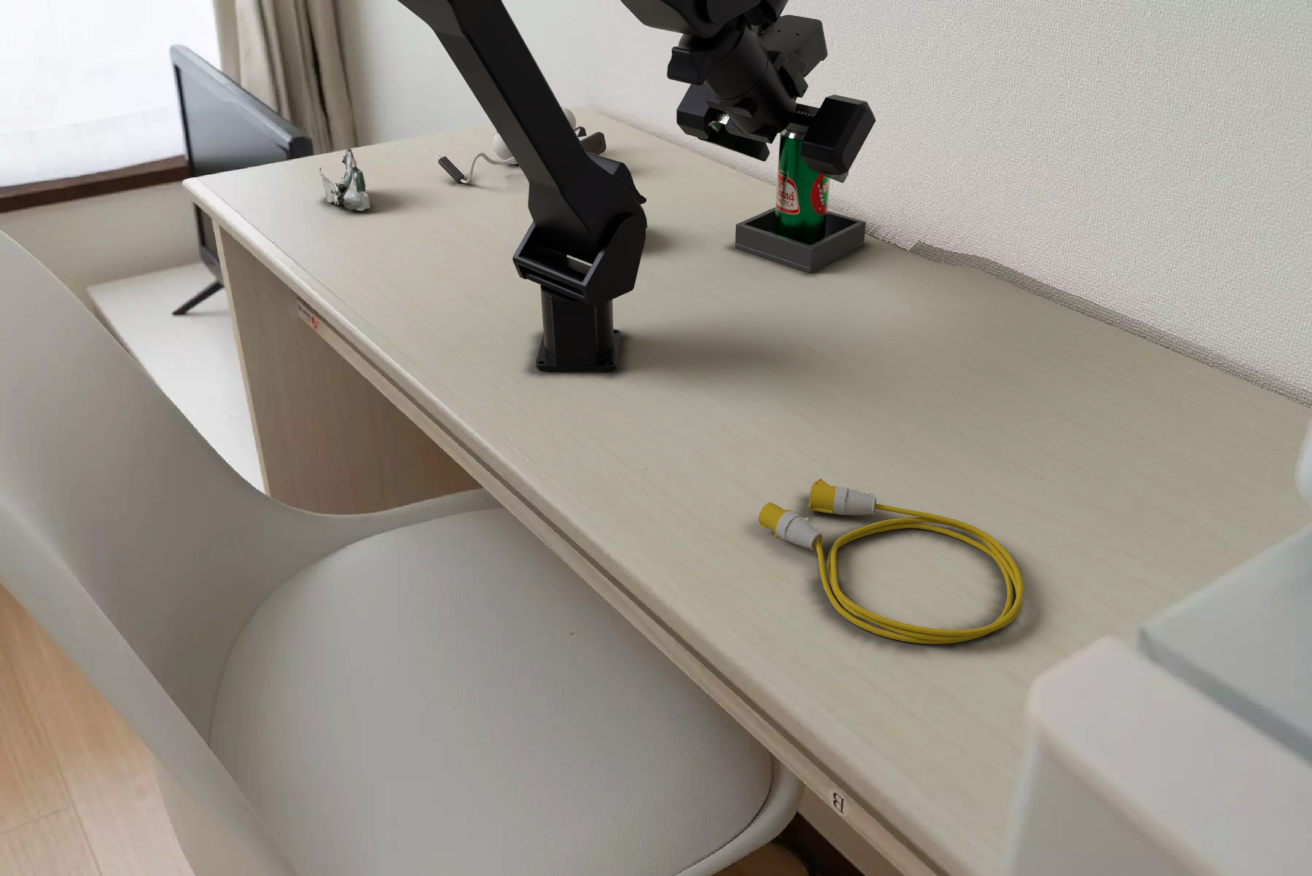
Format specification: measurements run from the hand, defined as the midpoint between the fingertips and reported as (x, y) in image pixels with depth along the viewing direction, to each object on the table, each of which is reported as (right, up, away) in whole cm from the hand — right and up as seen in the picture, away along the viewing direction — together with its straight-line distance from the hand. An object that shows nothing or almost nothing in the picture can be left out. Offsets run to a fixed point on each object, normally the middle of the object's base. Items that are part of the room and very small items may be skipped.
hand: (804, 167), depth 102 cm
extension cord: (0, -34, -37) cm, 50 cm away
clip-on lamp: (-30, +5, +24) cm, 39 cm away
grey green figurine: (-49, 0, +15) cm, 51 cm away
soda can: (0, -7, +4) cm, 8 cm away
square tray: (0, -7, +4) cm, 8 cm away
